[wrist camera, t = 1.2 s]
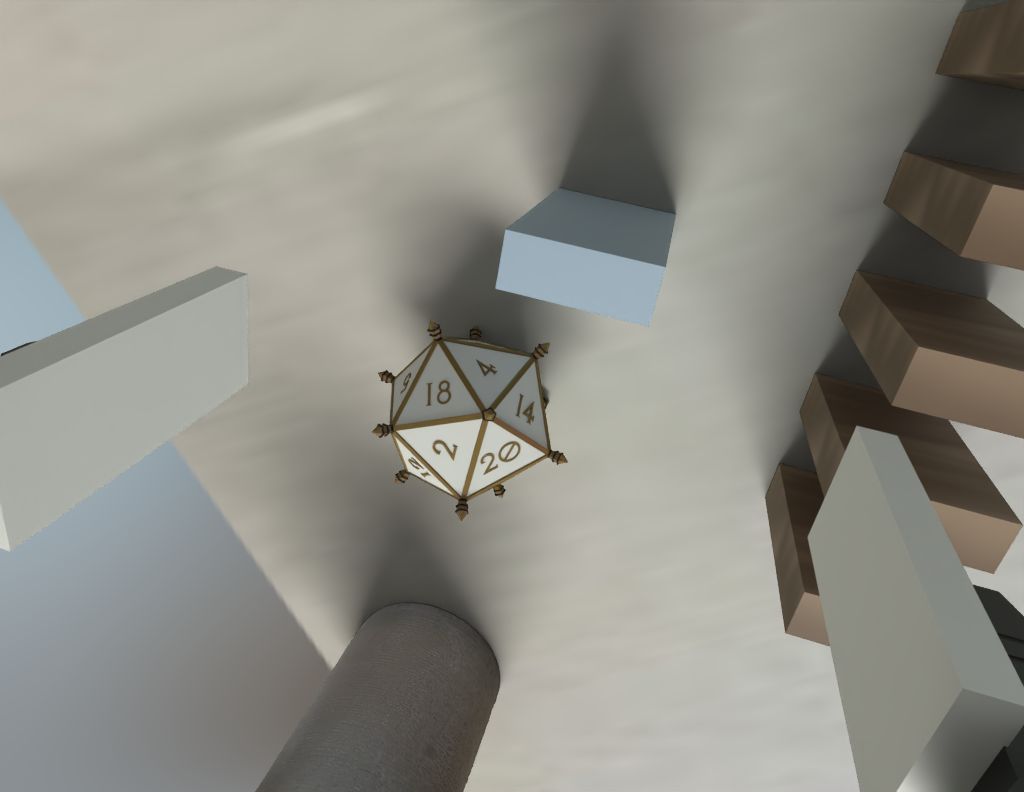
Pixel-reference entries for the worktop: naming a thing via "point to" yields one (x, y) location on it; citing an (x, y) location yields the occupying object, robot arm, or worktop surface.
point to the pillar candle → (395, 709)
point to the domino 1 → (588, 255)
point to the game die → (468, 415)
